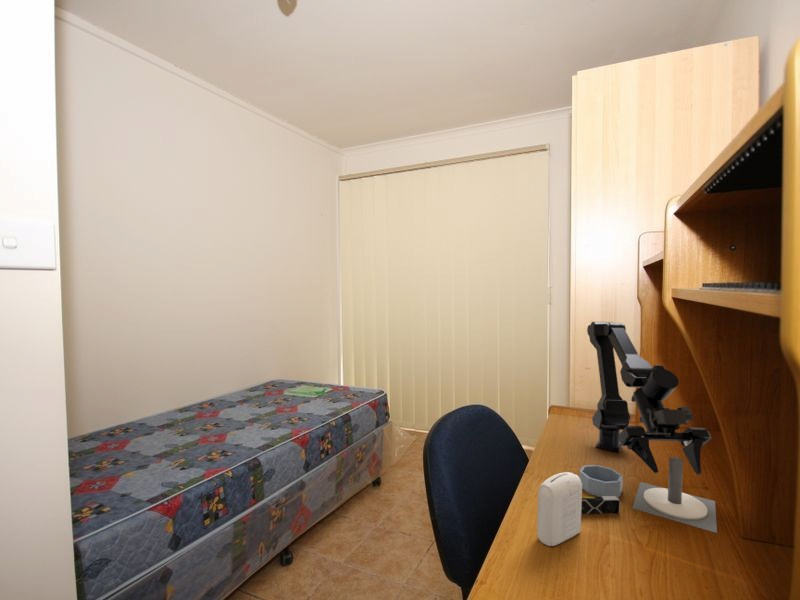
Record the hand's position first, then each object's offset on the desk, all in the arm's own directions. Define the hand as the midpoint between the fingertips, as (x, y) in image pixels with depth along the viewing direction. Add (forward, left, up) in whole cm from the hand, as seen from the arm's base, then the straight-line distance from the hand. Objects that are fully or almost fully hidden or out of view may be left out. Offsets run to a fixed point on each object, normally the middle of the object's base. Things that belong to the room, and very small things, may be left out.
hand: (677, 473), depth 92 cm
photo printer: (+26, -18, -8) cm, 33 cm away
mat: (-1, 0, -8) cm, 8 cm away
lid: (-1, 0, -8) cm, 8 cm away
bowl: (+1, -15, -8) cm, 17 cm away
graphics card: (+14, -15, -8) cm, 22 cm away
